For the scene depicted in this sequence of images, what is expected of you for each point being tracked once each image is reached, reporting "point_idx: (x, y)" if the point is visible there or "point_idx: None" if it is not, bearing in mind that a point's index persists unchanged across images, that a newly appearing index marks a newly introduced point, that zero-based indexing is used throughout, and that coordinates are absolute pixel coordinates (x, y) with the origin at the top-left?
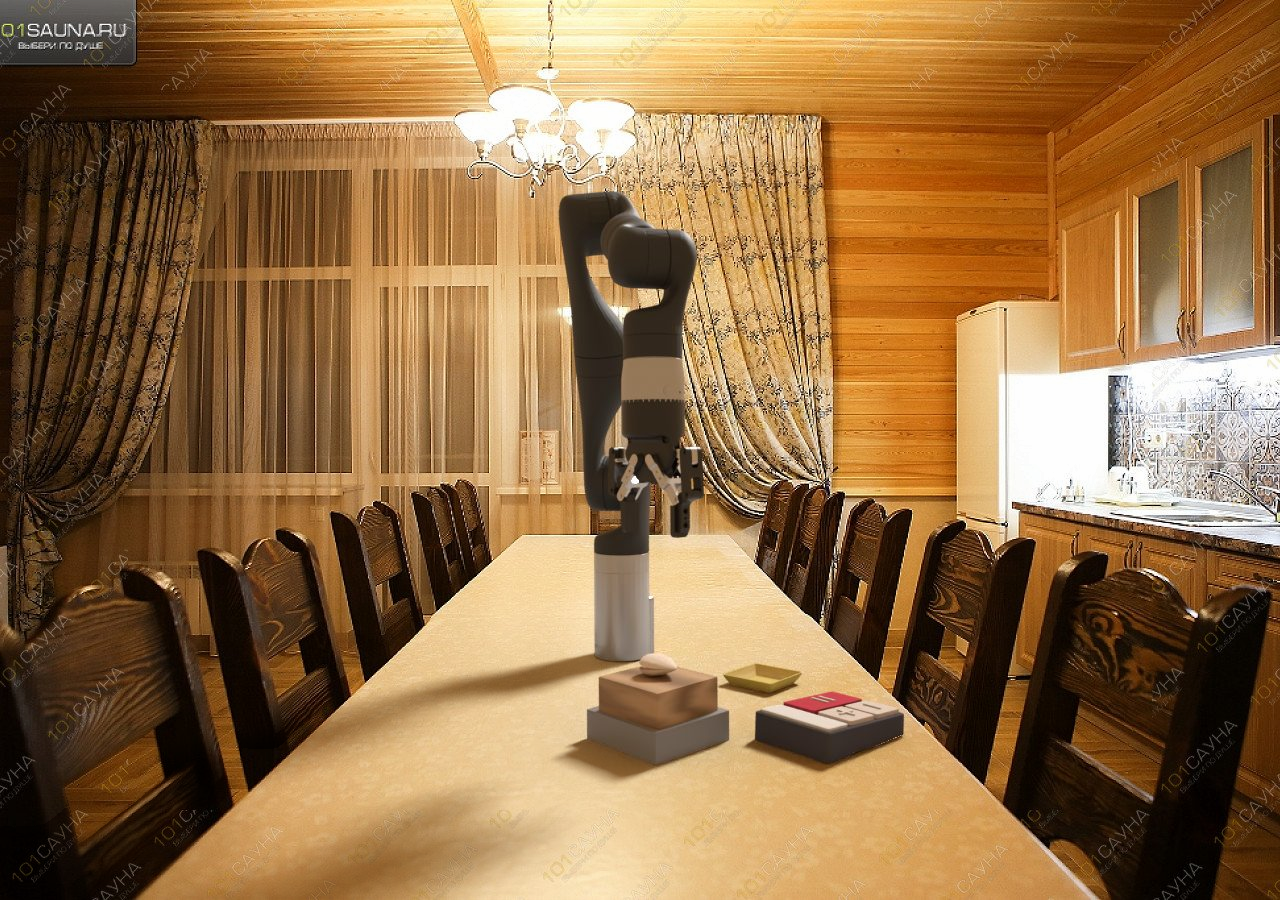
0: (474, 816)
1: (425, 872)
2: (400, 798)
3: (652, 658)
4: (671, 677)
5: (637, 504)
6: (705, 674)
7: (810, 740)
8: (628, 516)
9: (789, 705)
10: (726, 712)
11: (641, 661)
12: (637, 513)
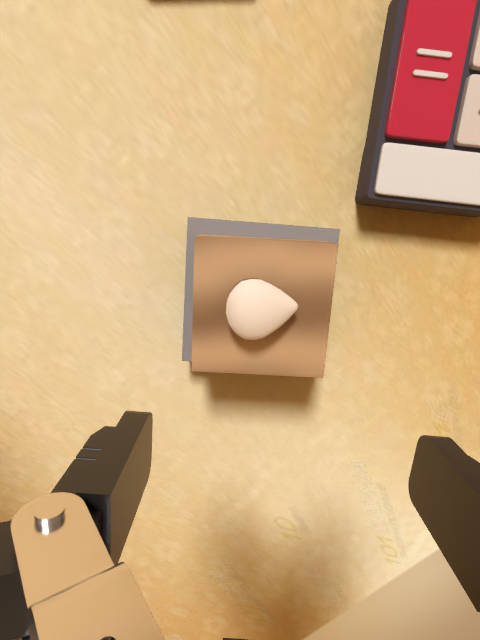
0: (268, 540)
1: (317, 606)
2: (187, 558)
3: (260, 328)
4: None
5: (116, 493)
6: (314, 246)
7: (463, 212)
8: (132, 503)
9: (400, 137)
10: (338, 234)
11: (244, 337)
12: (131, 461)
